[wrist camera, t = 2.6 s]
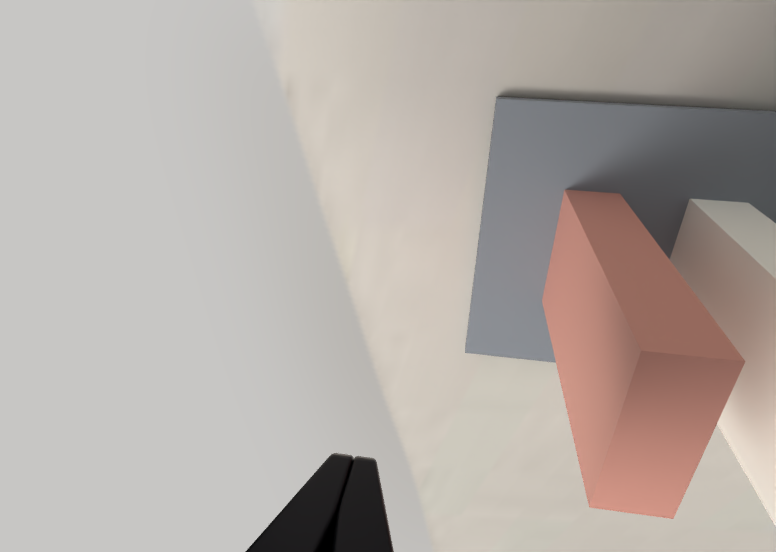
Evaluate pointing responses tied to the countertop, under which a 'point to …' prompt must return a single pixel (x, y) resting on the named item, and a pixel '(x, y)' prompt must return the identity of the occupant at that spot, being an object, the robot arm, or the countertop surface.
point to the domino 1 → (632, 357)
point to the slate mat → (598, 174)
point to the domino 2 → (739, 321)
